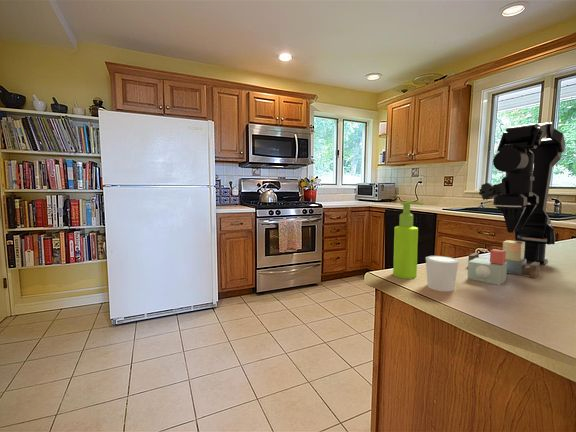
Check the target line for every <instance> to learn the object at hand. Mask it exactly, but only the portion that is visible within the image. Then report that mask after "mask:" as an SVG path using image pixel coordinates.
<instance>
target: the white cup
mask: <svg viewBox="0 0 576 432" xmlns="http://www.w3.org/2000/svg"><path fill="white" fill-rule="evenodd" d="M425 266H426V268H425V269H426V281H427V282H426V283H427V287H428V288H429V289H431V290H433V291H437V292H446V293H447V292H453V291H455V286H456V280H457V279H456V278H457V273H458V267H459V260H458V259H457V258H454V257H450V256H445V255H444V256H443V255H429V256H425Z"/></svg>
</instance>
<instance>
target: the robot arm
mask: <svg viewBox="0 0 576 432" xmlns="http://www.w3.org/2000/svg"><path fill="white" fill-rule="evenodd" d="M545 137H549V138H545ZM565 149H566V140H565V135H564V134H563V133H562V132H561V131H559V130H558V129H556V128H555V126H554V123H553V122H542V123H538V122H537V123H536V122H535V123H528V124H522V125H521V124H520V125H515V126H508V127H506V128H505V131H504V132H503V133H502V135H501V138H500V141H499V144H498V146H497V153H496V154H495V155H494V157H493V160H492V165H493V167H494V168H495V170H497V171H500V172H504V173H505V176H503V177H502V178H501V182H500V183H496V184H491V183H490V182H485V183H483V184H481V187H480V188H479V192H478V195H480V196H481V198H482V201H488V200H492V199H493V202H492V203H493V204H492V205H493V206H495V208H496V209H498V210H499V211H500V212H501V213H502V215H503V218H504V221H505V222H504V223H505V226H506V230H507V234H508V233H510V234H514V238H515V239H514V241H520V242H525V250H524V259H527V262H526V263H530V264H532V263H533V262H540V265H545V264H547V263H548V261H549V259H546V248H547V247H546V246H547V245H555V244H556V235H555V229H554V227H553V225H552V224H551V222H552V220H551V219H550V217H549V215H548V214H547V212H546V209H547V206H548V205H547V204H548V199H549V191H550V184H551V178H552V171H553V167H554V166H555V165H556V164H558V163H559V162H560V161H561V158H562V153H565Z"/></svg>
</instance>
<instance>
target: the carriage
mask: <svg viewBox="0 0 576 432" xmlns="http://www.w3.org/2000/svg"><path fill="white" fill-rule="evenodd" d="M502 250H505V251H506V260H505V262H507V273H508V272H511V273H510V274H513V273H517V274H516V275H519V274H522V270H523V266H524V265H525V266H527V263H528V262H527V259H524V250H525V242H522V241H515V240H508V239H507V240H505V241H502Z"/></svg>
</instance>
